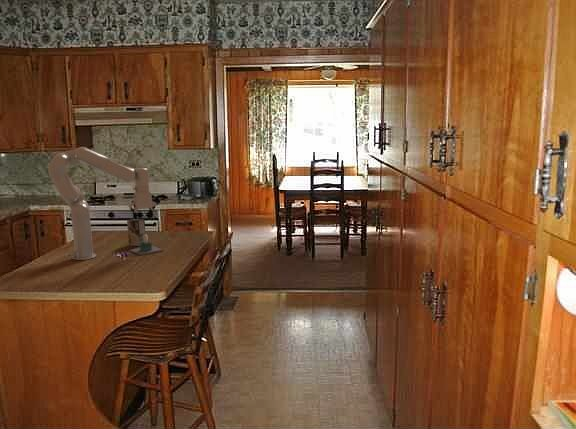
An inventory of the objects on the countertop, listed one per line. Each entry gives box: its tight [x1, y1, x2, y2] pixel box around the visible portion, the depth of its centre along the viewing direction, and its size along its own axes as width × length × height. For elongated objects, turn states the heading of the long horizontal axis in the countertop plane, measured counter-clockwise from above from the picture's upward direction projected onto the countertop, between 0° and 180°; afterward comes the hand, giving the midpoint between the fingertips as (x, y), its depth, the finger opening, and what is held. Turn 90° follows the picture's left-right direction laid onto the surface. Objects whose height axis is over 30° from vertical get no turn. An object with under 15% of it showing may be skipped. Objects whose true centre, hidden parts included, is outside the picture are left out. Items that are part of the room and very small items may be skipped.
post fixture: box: [129, 234, 164, 256], centre depth 292 cm, size 14×14×10 cm
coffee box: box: [126, 218, 146, 247], centre depth 309 cm, size 9×6×16 cm
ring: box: [139, 240, 153, 251], centre depth 292 cm, size 7×7×4 cm
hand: (143, 218), depth 289 cm, fingers open, 9 cm apart
